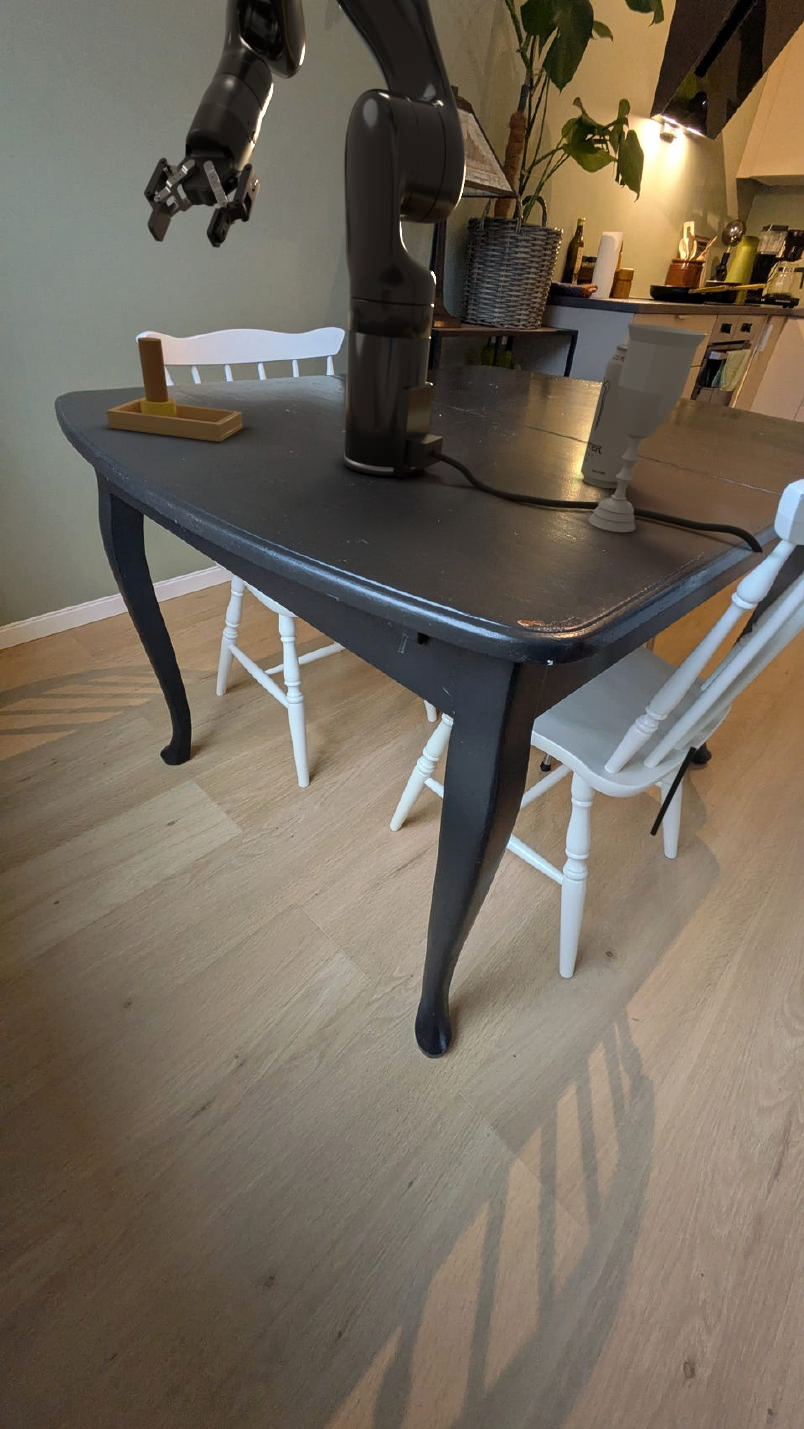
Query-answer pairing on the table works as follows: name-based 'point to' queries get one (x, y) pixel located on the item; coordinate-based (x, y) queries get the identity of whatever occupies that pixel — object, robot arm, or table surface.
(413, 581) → the table surface
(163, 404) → the peg on yellow base
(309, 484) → the table surface
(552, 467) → the table surface
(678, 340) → the chalice
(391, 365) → the robot arm
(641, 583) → the table surface
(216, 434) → the tray
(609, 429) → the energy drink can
